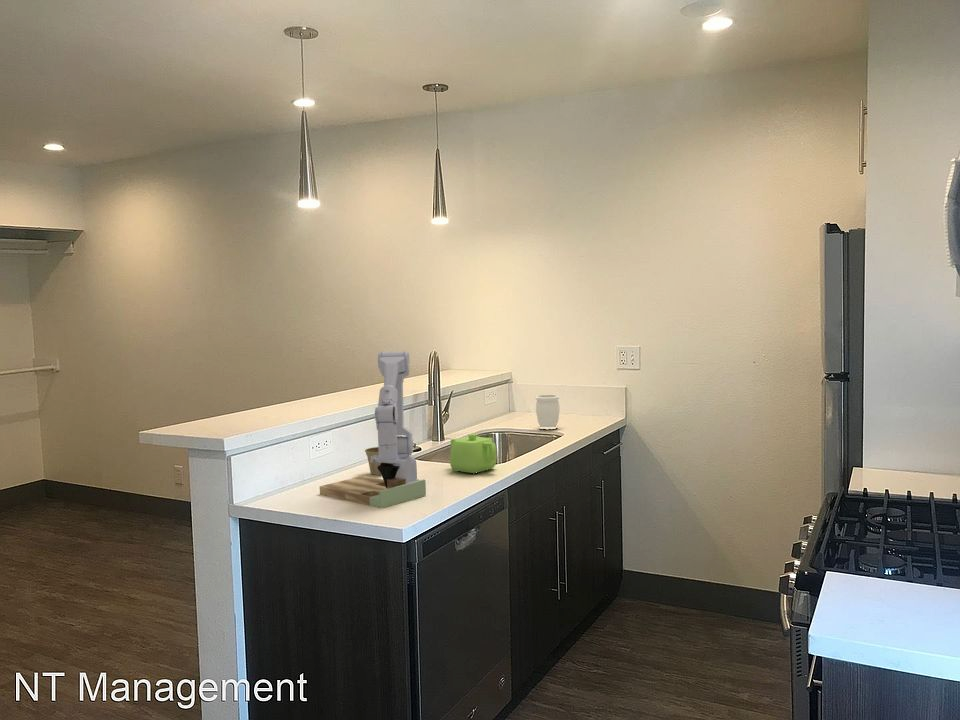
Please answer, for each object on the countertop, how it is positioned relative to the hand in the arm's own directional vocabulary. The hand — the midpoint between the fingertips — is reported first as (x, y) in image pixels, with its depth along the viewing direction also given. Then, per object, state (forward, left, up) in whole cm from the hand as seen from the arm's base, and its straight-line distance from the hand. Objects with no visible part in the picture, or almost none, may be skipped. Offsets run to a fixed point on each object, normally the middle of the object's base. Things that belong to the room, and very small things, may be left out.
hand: (389, 487), depth 250 cm
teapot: (-46, -5, -4) cm, 46 cm away
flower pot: (-22, -30, -4) cm, 38 cm away
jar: (-127, -35, -4) cm, 132 cm away
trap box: (0, -8, -3) cm, 9 cm away
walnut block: (0, +3, -1) cm, 4 cm away
